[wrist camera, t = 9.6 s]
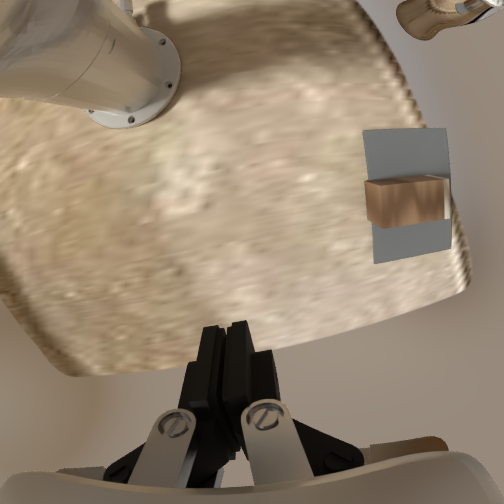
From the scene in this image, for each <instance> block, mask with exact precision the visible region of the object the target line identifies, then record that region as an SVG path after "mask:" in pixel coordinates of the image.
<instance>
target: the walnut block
mask: <svg viewBox="0 0 504 504" xmlns="http://www.w3.org/2000/svg"><path fill="white" fill-rule="evenodd" d="M364 183H365V193H366V205H367V218H368V220H369V221H371V222H372V223H374V224H376V225H377V226H379V227H380V228H382V229H387V228H393V227H400V226H406V225H412V224H418V223H425V222H431V221H437V220H443V219H449V218H450V194H449V179H446V178H442V177H437V176H432V175H420V176H409V177H398V178H389V179H379V180H370V181H364Z"/></svg>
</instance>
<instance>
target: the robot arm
mask: <svg viewBox="0 0 504 504" xmlns="http://www.w3.org/2000/svg"><path fill="white" fill-rule="evenodd" d="M132 13H133V6H132V0H120V1H118V2H117V3H116V4H115V3H114V2H113V1H112V0H0V97H1V98H15V99H24V100H32V101H38V102H45V103H52V104H58V105H64V106H70V107H76V108H81V109H84V111H85V112H86V113H87V115H88V116H89V117H90V118H91V119H92V120H93V121H94V122H96V123H98V124H100V125H101V126H104V127H108V128H112V129H129V128H133V127H137V126H140V125H142V124H144V123H146V122H148V121H150V120H151V119H153V118H154V117H156V116H157V115H158V114H159V113H160V112H161V111H162V110H163V109H164V108H165V107H166V106H167V105H168V103H169V102H170V101H171V99H172V97H173V96H174V94H175V92H176V90H177V87H178V84H179V81H180V75H181V60H180V57H179V53H178V51H177V49H176V47H175V46H174V44H173V43H172V42H171V40H170V39H169V38H168V37H166V36H165V35H164V34H163V33H161V32H159V31H157V30H154V29H150V28H145V27H138V26H137V24H136V20H135V19H133V18H132ZM163 43H165V45H163ZM171 84H172V87H171V88H169V85H171ZM134 118H135V121H134V122H133V119H134ZM241 447H242V449H243V451H244V454H245V456H246V458H247V460H248V461H249V462H250V467H251V471H252V476H253V481H254V485H255V486H245V487H229V488H220V486H221V483H222V478H223V474H224V469H223V466H224V465H225V464H226V463H227V462H229V460H235V456H236V453H235V452H238V451H240V449H241ZM0 504H504V497H503V495H502V493H501V491H500V490H499V488H498V486H497V485H496V483H495V481H494V480H493V478H492V477H491V475H490V474H489V473H488V471H487V470H486V469H485V468H484V466H483V465H482V464H481V463H480V462H479V461H478V460H477V459H475V458H474V457H472V456H471V455H469V454H466V453H462V452H454V451H449V450H448V446H447V444H446V443H445V441H443V440H442V439H441V438H438V437H435V436H427V437H421V438H415V439H410V440H404V441H397V442H390V443H382V444H373V445H370V448H360V449H358V448H357V447H355V446H353V445H351V444H349V443H346V442H344V441H341V440H339V439H337V438H334V437H332V436H330V435H327V434H325V433H323V432H320V431H318V430H316V429H314V428H311V427H309V426H307V425H305V424H303V423H301V422H299V421H297V420H295V419H292V418H291V415H290V412H289V410H288V408H287V406H286V405H285V404H283V403H282V402H281V399H280V392H279V384H278V378H277V372H276V367H275V362H274V358H273V353H272V350H266V351H260V352H255V350H254V346H253V342H252V338H251V334H250V331H249V327H248V323H247V321H246V320H244V321H239V322H233V323H232V326H231V327H227V336H226V332H225V329H224V328H219V326H218V325H215V326H209V327H204V328H203V331H202V336H201V341H200V346H199V351H198V356H197V361H193V362H189V363H188V365H187V369H186V373H185V378H184V382H183V386H182V391H181V396H180V400H179V405H178V409H173V410H169V411H167V412H165V413H163V414H162V415H161V416H160V417H159V418H158V419H157V420H156V422H155V423H154V426H153V428H152V430H151V432H150V434H149V436H148V439H147V441H146V442H145V443H144V444H142V445H141V446H140V447H138V448H136V449H135V450H133V451H132V452H130V453H128V454H127V455H125V456H124V457H122V458H121V459H119V460H117V461H116V462H114V463H113V464H111V465H110V466H109V467H108V468H107V469H106V468H104V467H103V466H100V467H85V468H64V469H59V470H58V471H56V472H48V471H27V472H20V473H16V474H13V475H12V476H10V477H8V478H7V479H6V480H5V482H4V483H3V485H2V486H1V488H0Z"/></svg>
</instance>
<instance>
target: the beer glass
mask: <svg viewBox="0 0 504 504" xmlns="http://www.w3.org/2000/svg"><path fill="white" fill-rule="evenodd" d="M502 9H504V0H407V1H404V2H402V3H400V4H399V5H398V7H397V9H396V16H397V19H398V21H399V23H400V25H401V26H402V28H403V29H404V30H405V31H406V32H407V33H408V34H410V35H411V36H413V37H414V38H416V39H419V40H430V39H432V38H433V37H434V36H435V35H436V34H437V33H438V32H439V31H441V30H442V29H445V28H450V27H456V26H462V25H467V24H471V23H475V22H478V21H480V20H483V19H485V18H487V17H489V16H491V15H493V14H495V13H496V12H498V11H500V10H502Z"/></svg>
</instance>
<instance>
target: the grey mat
mask: <svg viewBox="0 0 504 504" xmlns="http://www.w3.org/2000/svg"><path fill="white" fill-rule="evenodd" d="M362 132H363V139H364V146H365V154H366V162H367V171H368V180H369V181H370V180H379V179H389V178H398V177H409V176H420V175H432V176H437V177H442V178H446V179H449V194H450V218H449V219H443V220H437V221H431V222H425V223H418V224H412V225H406V226H400V227H393V228H387V229H382V228H380V227H379V226H377V225H376V224H374V223H372V231H373V254H374V264H378V263H383V262H389V261H394V260H399V259H404V258H409V257H414V256H418V255H423V254H428V253H433V252H437V251H442V250H447V249H451V179H450V163H449V151H448V141H447V132H446V128H412V129H383V130H366V131H362Z"/></svg>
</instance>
